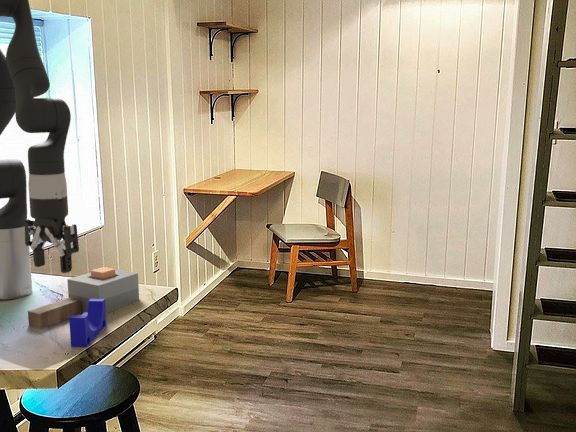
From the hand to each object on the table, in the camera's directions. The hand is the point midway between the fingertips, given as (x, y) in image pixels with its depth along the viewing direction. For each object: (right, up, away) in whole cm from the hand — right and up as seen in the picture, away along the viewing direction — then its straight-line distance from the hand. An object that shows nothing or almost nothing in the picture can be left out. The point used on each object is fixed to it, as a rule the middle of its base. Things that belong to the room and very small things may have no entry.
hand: (52, 269), depth 137 cm
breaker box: (+8, -9, +11) cm, 16 cm away
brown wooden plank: (-2, -10, -4) cm, 11 cm away
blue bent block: (+10, -13, -8) cm, 18 cm away
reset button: (+8, -4, +10) cm, 13 cm away
